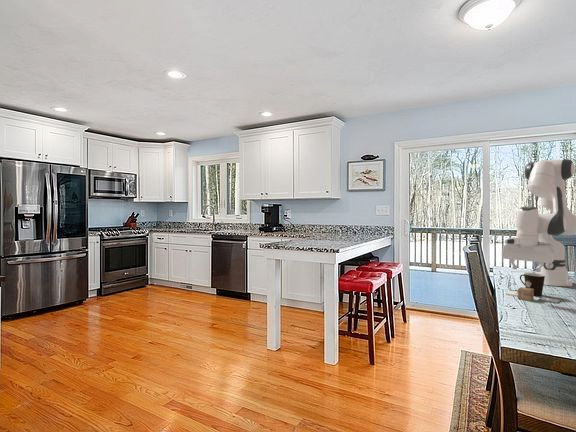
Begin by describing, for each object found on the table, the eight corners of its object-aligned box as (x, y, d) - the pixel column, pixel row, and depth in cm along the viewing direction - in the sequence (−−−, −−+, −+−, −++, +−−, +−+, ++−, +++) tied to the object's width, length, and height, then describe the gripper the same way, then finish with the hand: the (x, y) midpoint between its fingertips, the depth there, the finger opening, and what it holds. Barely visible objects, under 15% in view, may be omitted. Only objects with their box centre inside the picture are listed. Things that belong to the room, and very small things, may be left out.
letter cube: (521, 297, 171) (521, 287, 171) (533, 299, 168) (533, 288, 167) (517, 299, 168) (518, 288, 168) (530, 301, 164) (530, 290, 164)
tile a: (542, 297, 170) (542, 296, 170) (560, 300, 165) (560, 299, 165) (538, 300, 166) (538, 299, 166) (556, 303, 160) (556, 302, 160)
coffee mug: (548, 297, 172) (548, 276, 171) (528, 296, 173) (528, 275, 173) (536, 291, 183) (536, 272, 183) (517, 290, 185) (518, 271, 184)
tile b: (510, 292, 181) (510, 291, 181) (526, 295, 176) (527, 293, 176) (506, 294, 176) (506, 293, 176) (522, 297, 171) (522, 296, 171)
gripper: (556, 242, 161) (555, 273, 161) (505, 239, 177) (504, 266, 177) (552, 243, 157) (551, 274, 157) (501, 239, 172) (500, 268, 173)
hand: (526, 270), depth 167 cm, fingers open, 8 cm apart
